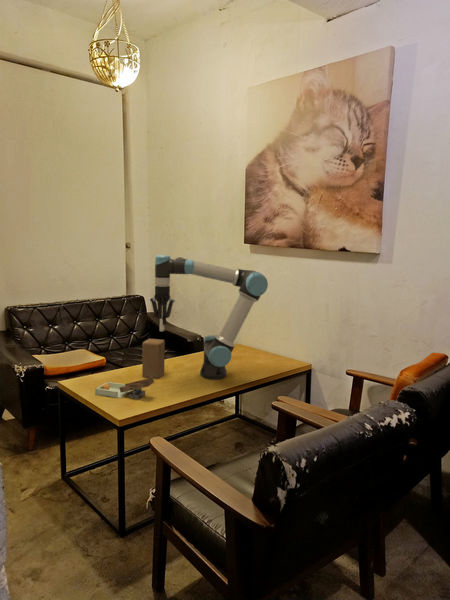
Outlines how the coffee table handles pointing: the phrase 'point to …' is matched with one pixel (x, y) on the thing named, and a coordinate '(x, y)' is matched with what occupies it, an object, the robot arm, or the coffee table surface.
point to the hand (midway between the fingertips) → (162, 330)
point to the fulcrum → (137, 394)
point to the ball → (106, 386)
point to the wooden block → (153, 358)
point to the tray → (111, 390)
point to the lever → (137, 384)
